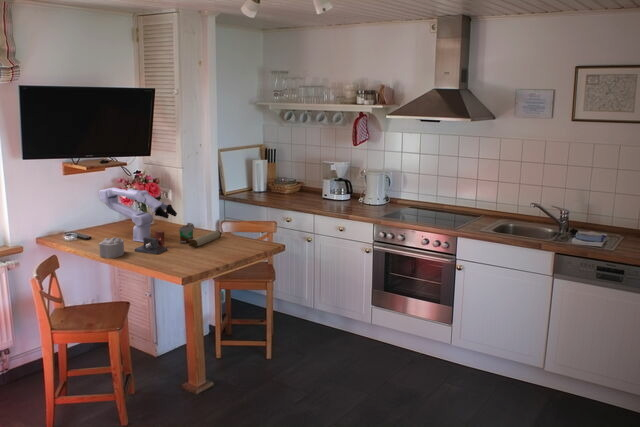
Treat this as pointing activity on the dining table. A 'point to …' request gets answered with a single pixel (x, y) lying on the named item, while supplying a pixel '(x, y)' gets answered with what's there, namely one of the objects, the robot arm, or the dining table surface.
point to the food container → (186, 233)
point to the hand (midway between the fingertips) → (172, 215)
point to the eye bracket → (152, 249)
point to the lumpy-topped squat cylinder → (111, 247)
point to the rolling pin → (205, 239)
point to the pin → (159, 236)
